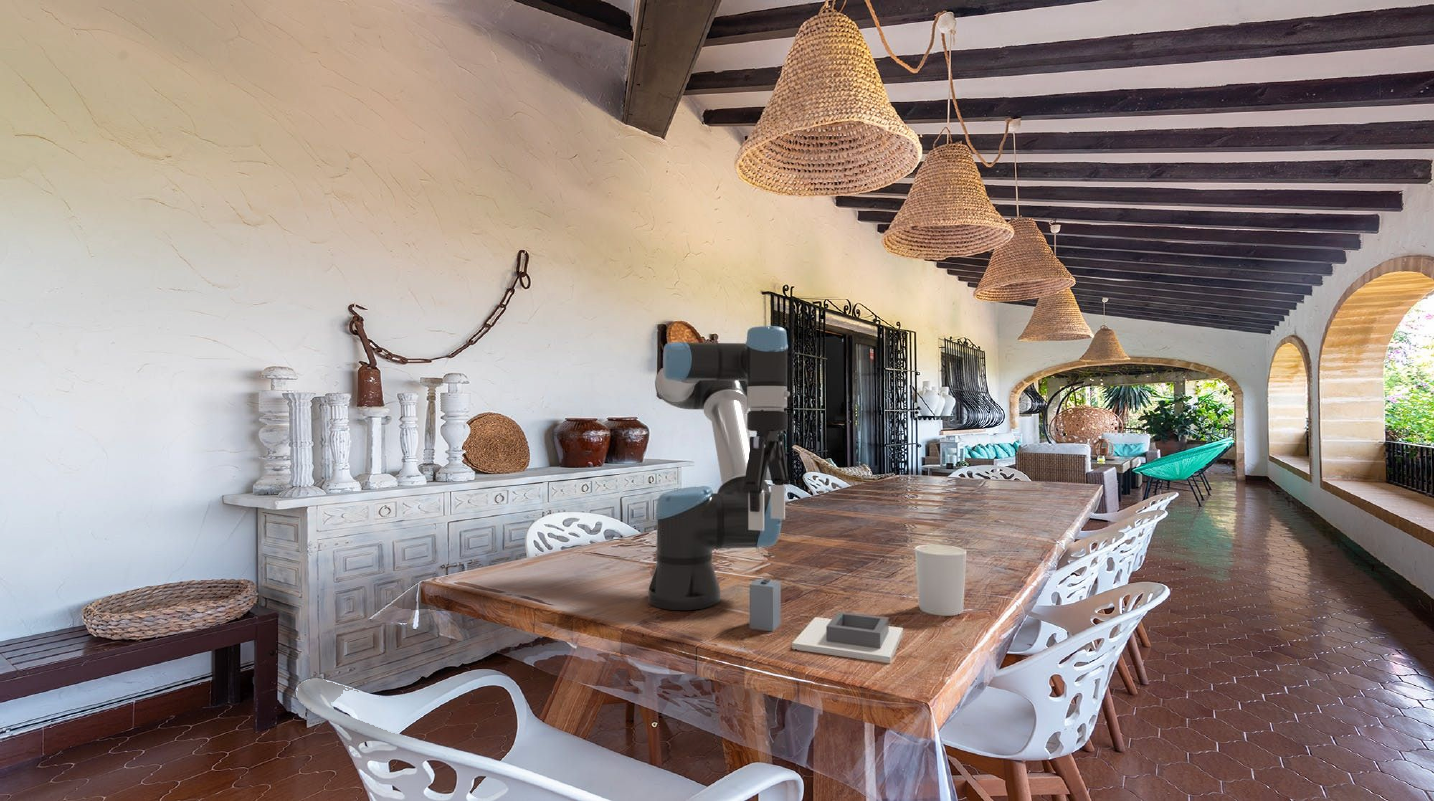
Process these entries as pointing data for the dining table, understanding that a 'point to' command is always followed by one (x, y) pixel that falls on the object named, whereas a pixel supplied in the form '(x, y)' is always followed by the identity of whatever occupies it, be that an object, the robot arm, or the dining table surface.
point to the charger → (765, 604)
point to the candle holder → (940, 579)
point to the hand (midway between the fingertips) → (767, 524)
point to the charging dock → (851, 637)
